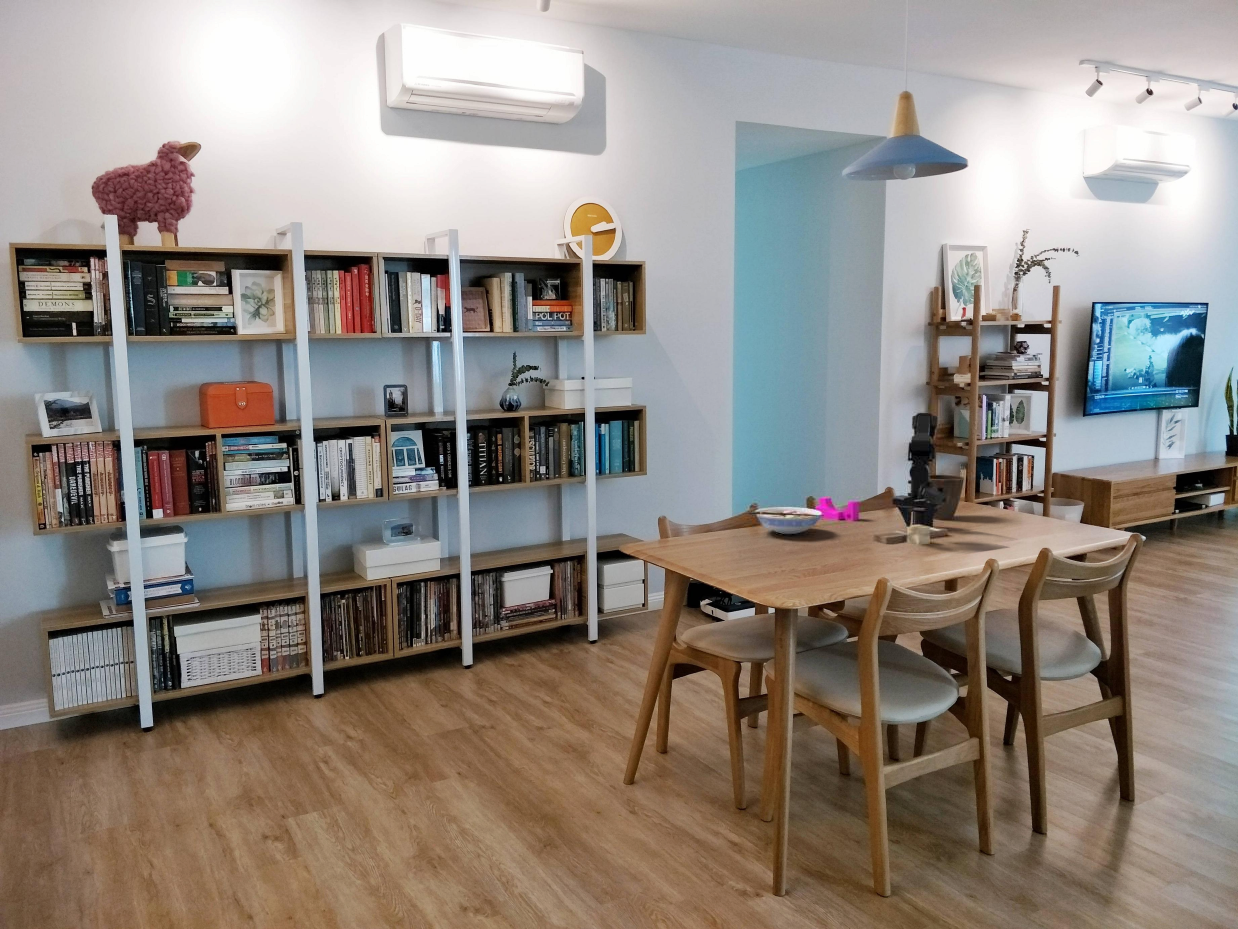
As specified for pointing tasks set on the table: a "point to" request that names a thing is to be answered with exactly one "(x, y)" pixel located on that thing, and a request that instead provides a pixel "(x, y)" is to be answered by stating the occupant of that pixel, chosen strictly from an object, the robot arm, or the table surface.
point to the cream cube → (917, 535)
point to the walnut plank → (899, 535)
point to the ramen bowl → (788, 519)
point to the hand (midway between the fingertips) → (918, 525)
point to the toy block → (833, 513)
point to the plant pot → (948, 494)
